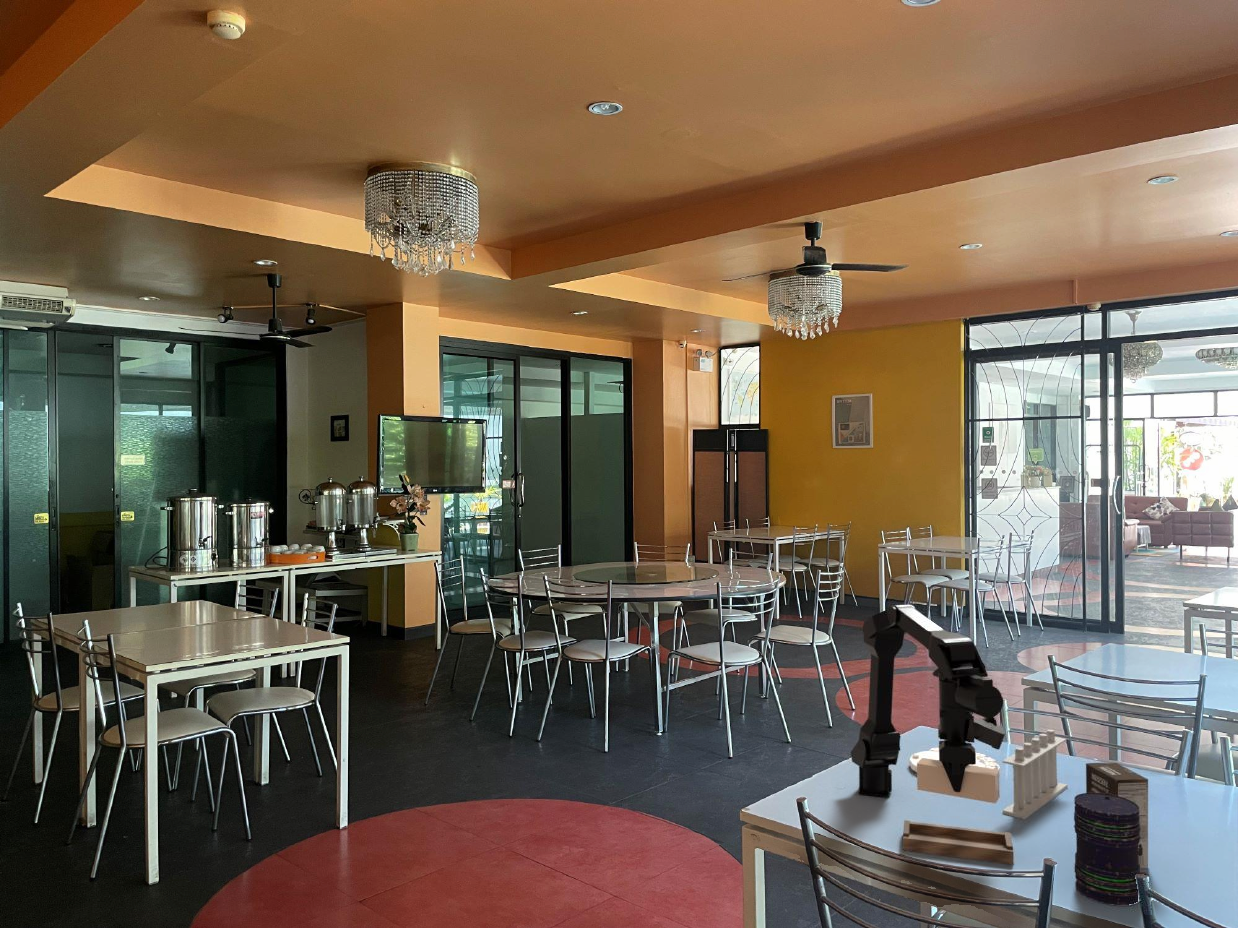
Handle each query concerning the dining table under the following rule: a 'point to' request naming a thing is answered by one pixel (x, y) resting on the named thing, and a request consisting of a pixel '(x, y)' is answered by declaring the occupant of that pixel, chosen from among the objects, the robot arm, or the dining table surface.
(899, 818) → the dining table surface
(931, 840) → the cradle
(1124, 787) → the coffee box
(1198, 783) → the dining table surface
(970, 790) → the clay bar
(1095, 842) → the storage jar
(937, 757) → the embossed medallion
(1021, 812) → the test tube rack
